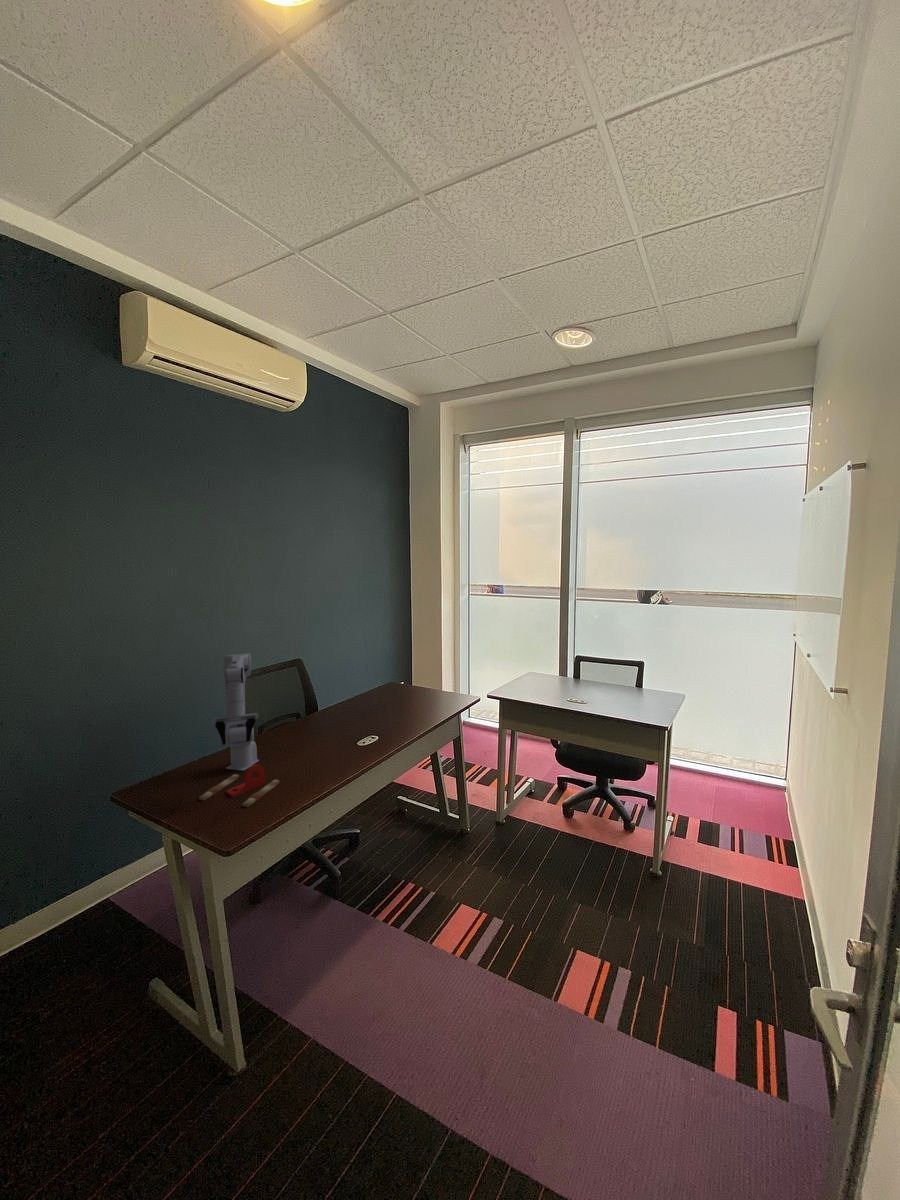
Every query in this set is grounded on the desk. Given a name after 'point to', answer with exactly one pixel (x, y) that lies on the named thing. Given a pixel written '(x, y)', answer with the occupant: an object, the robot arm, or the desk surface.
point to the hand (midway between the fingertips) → (236, 743)
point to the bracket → (249, 781)
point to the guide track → (231, 779)
